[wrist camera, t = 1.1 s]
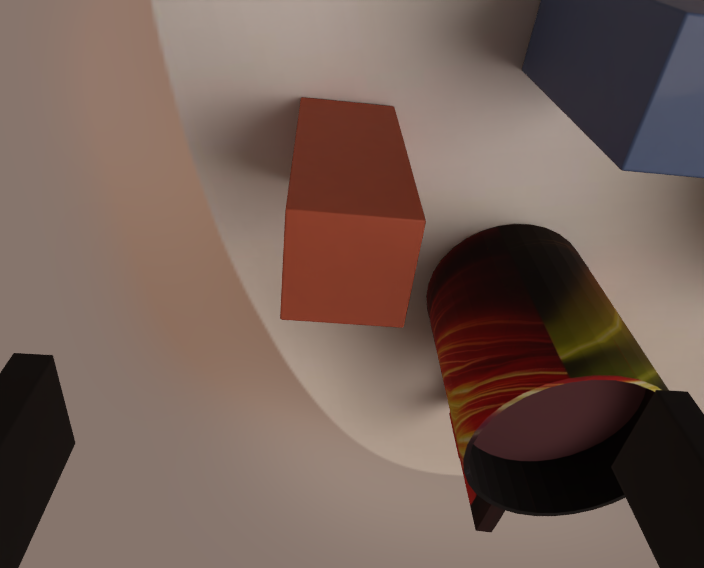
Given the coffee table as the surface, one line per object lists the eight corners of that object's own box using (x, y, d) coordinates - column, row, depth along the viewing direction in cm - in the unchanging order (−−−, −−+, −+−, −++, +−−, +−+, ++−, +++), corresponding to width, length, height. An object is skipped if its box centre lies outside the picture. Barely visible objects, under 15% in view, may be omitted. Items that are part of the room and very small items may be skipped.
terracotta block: (301, 96, 24) (285, 208, 16) (394, 106, 24) (426, 220, 16) (295, 183, 26) (280, 320, 18) (381, 190, 27) (403, 328, 18)
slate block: (550, -39, 21) (686, 12, 13) (651, -27, 22) (845, 31, 14) (520, 70, 24) (620, 171, 15) (612, 80, 24) (756, 184, 16)
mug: (447, 404, 35) (483, 571, 27) (413, 245, 28) (447, 400, 20) (584, 379, 34) (668, 543, 26) (584, 207, 27) (696, 354, 19)
